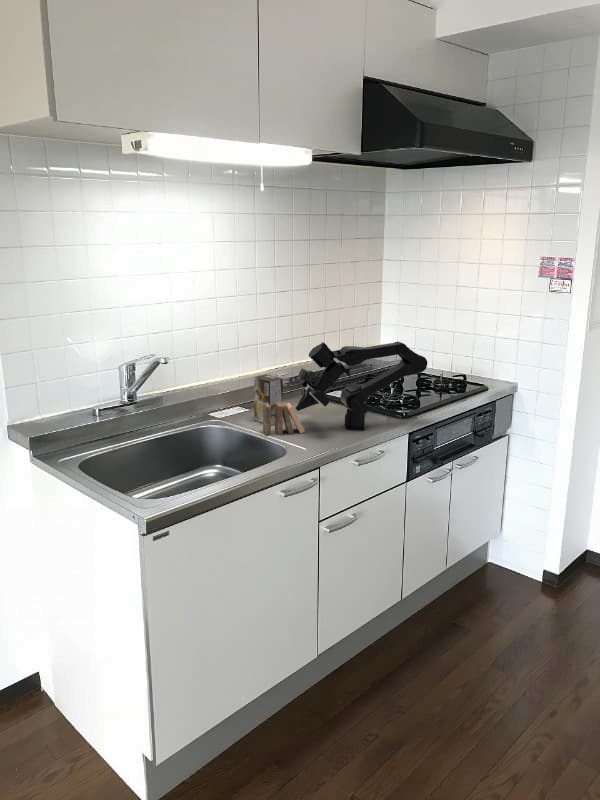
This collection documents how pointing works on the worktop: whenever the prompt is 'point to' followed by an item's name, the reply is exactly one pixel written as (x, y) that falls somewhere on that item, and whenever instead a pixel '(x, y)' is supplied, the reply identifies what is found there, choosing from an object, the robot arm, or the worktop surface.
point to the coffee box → (267, 395)
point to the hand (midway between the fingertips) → (296, 409)
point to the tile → (295, 418)
